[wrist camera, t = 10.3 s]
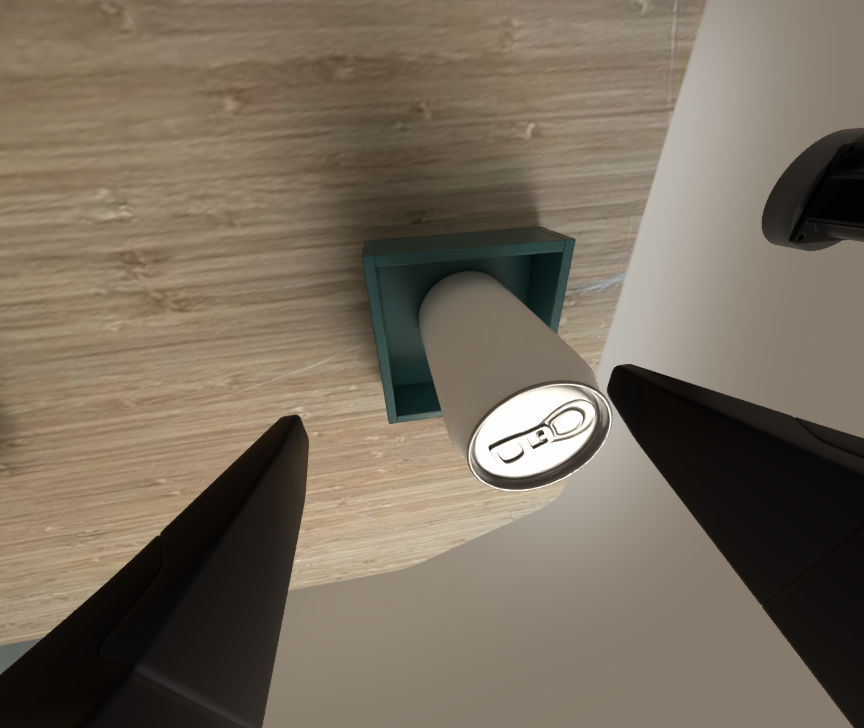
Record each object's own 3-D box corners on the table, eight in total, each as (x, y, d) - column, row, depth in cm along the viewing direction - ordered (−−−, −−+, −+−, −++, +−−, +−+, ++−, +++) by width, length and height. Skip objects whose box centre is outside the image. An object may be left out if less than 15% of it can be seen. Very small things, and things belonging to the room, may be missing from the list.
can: (521, 326, 23) (636, 451, 13) (445, 369, 24) (496, 517, 14) (485, 248, 19) (605, 335, 9) (398, 302, 20) (422, 433, 10)
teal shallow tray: (541, 226, 20) (576, 238, 16) (522, 372, 26) (544, 402, 22) (363, 240, 18) (361, 256, 15) (387, 389, 24) (388, 424, 21)
